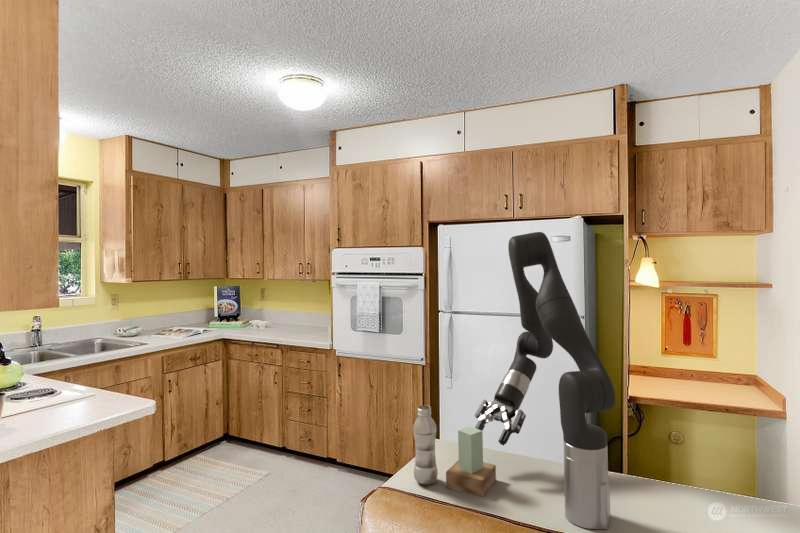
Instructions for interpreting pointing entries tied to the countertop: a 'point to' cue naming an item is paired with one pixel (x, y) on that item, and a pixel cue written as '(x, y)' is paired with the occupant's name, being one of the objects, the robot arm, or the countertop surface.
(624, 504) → the countertop surface
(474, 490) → the base
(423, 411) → the plastic bottle
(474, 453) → the block
